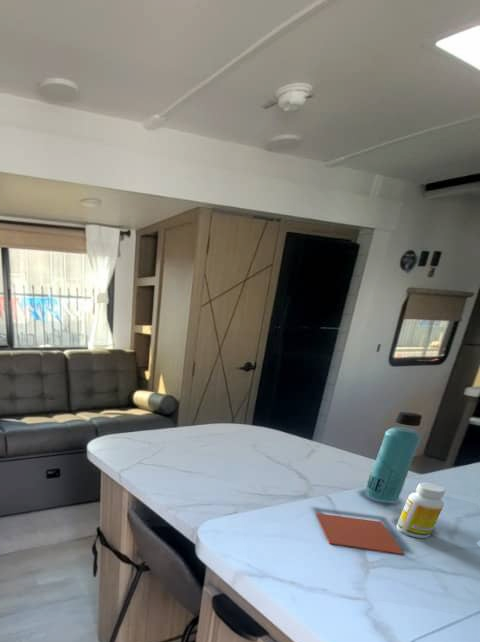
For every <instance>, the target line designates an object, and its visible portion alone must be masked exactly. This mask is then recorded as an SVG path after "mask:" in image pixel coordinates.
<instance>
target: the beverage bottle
mask: <svg viewBox="0 0 480 642" xmlns="http://www.w3.org/2000/svg"><path fill="white" fill-rule="evenodd" d="M422 418H423V415H422V414H419V413H417V412H412V411H411V412H410V411H399V412H398V414H397V416H396V418H395V420H394V421H395V423H396V424H399V425H403V426H411V427H419V426H420V425H421V421H422ZM421 440H422V436H421V434H420V432H418V430H415V429H413V428H409V427H402V426H393V427H390V428H389V429H388V430H385V432H384V436H383V439H382V442H381V444H380V447H379V449H378V451H377V455H376V458H375V462H374V465H373V466H372V471H371V472H370V475H369V477H368V480H367V483H366V487H365V489H364V490H365V494H366V495H367V496H368V497H370V498H372V499H375V500H378V501H383V502H396V501H397V500H398V499H399V498H400V497H401V493H402V490H403V489H404V486H405V483H406V480H407V477H408V475H409V472H410V470H411V469H410V468H411V465H412V462H413V461H414V457H415V455H416V452H417V450H418V448H419V447H418V446H419V444H420V441H421Z"/></svg>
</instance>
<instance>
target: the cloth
mask: <svg viewBox="0 0 480 642" xmlns="http://www.w3.org/2000/svg"><path fill="white" fill-rule="evenodd" d="M316 515H317V516H316ZM315 516H316V518H317V517H318V518H317V520H318V523H319V524H320V526H321V529H322V531H323V533H324V535H325V537H326V540H327V543H328V544H329V545H333V546H339V547H348V548H354V549H361V550H367V551H374V552H379V551H380V553H386V552H387V553H386V554H392V555H393V554H394V555H400V556H405V552H404V551H403V550H402V548H401V547H400V545H399V544H398V543H397V542H396V540H395V539H394V538H393V536H392V534H391V533H390V532H389V531H388V529H387V528H386V526H385V525H384V524H383V523H382V522H381V521H378V520H370V519H363V518H357V517H349V516H342V515H333V514H326V513H318V512H316V513H315Z"/></svg>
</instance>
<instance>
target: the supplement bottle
mask: <svg viewBox="0 0 480 642" xmlns="http://www.w3.org/2000/svg"><path fill="white" fill-rule="evenodd" d="M445 493H446V489H445V488H444V487H443V486H440V485H438V484H434V483H430V482H419V483H418V485H417V487H416V490H415V492H412V493H410V494H409V495H408V497H407V499H406V501H405V504H404V507H403V509H402V511H401V514H400V516H399V518H398V521H397V524H396V528H397V530H398V532H400V533H402V534H404V535H407V536H410V537H413V538H416V539H417V538H418V539H426V538H428V537H430V535H431V534H432V532H433V529H434V528H435V525H436V523H437V521H438V519H439V517H440V514H441V513H442V510H443V508H444V505H445V503H444V501H443V499H442V498H443V497H444V495H445Z"/></svg>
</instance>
